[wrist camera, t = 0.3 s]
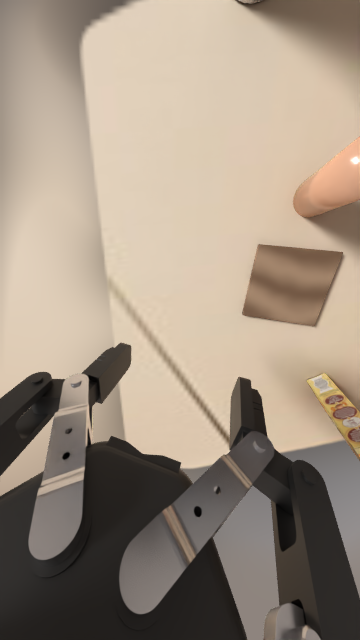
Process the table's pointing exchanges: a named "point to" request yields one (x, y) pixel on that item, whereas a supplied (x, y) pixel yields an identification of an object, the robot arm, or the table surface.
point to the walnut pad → (290, 283)
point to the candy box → (338, 410)
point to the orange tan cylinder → (331, 184)
